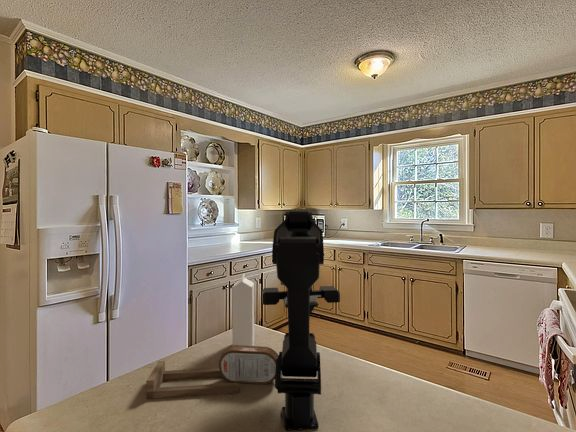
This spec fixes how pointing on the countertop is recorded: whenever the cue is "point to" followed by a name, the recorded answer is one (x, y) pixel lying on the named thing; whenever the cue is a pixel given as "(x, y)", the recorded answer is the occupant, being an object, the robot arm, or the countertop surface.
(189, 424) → the countertop surface
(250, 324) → the milk
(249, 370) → the tin
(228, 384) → the wooden frame
